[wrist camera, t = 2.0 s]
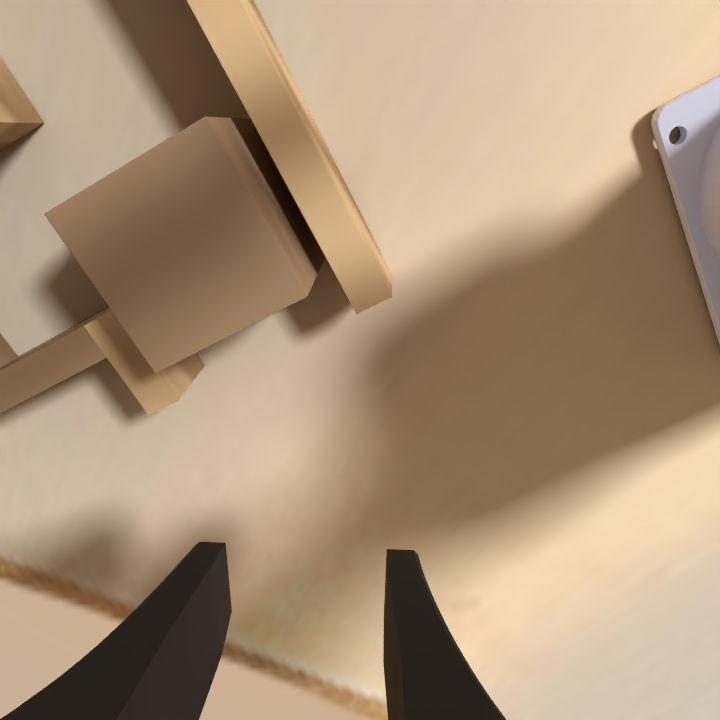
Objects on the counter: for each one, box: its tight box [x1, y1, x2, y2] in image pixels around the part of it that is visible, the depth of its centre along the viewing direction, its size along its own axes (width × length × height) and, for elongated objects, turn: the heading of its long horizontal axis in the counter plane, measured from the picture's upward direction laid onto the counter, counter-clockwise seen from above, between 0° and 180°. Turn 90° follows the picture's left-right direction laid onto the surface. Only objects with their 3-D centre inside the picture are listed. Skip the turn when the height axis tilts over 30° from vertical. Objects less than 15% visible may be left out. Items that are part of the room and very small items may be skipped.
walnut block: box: [44, 116, 325, 373], centre depth 17 cm, size 5×5×5 cm
